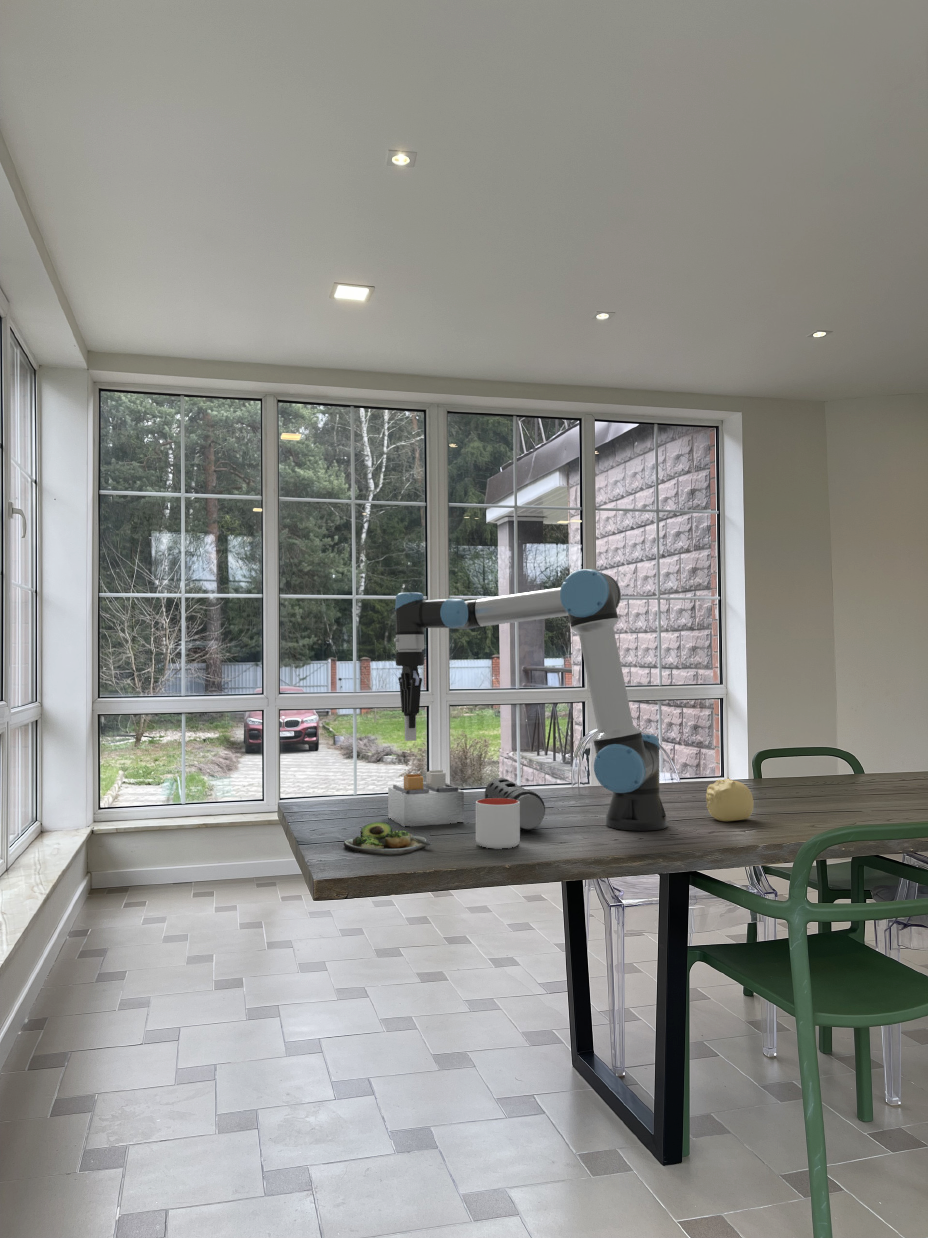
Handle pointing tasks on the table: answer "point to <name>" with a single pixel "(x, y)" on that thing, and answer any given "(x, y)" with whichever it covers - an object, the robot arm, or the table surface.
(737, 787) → the sculpture
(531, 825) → the muzzle brake
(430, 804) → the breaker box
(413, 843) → the salad plate
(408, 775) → the toggle orange
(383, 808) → the table surface
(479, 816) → the cup
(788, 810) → the table surface
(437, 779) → the toggle white
